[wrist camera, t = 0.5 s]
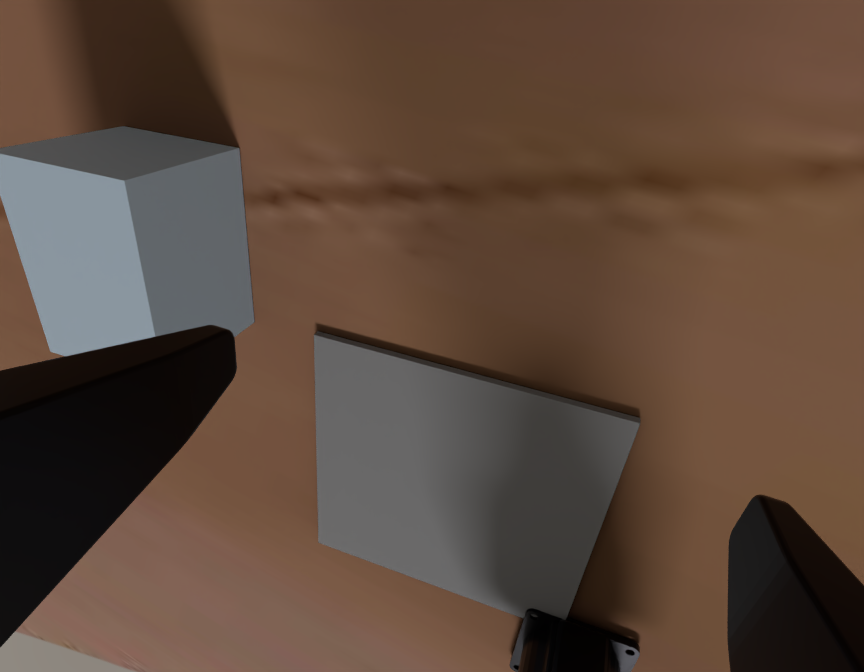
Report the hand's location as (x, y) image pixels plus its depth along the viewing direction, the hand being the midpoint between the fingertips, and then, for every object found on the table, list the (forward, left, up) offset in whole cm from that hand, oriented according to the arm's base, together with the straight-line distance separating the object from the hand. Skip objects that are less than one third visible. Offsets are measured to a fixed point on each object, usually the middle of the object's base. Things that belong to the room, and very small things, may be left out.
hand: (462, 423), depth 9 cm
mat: (-17, +3, -14) cm, 22 cm away
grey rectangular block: (-5, +18, -14) cm, 23 cm away
